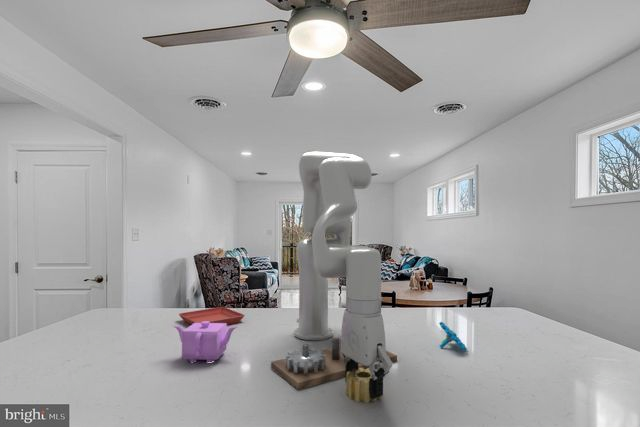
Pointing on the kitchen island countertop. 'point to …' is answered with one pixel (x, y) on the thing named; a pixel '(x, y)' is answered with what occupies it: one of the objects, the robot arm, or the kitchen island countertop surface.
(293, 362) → the gear
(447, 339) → the gear
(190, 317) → the plant saucer
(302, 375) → the gear board
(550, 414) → the kitchen island countertop surface
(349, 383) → the brass gear
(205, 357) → the teapot
